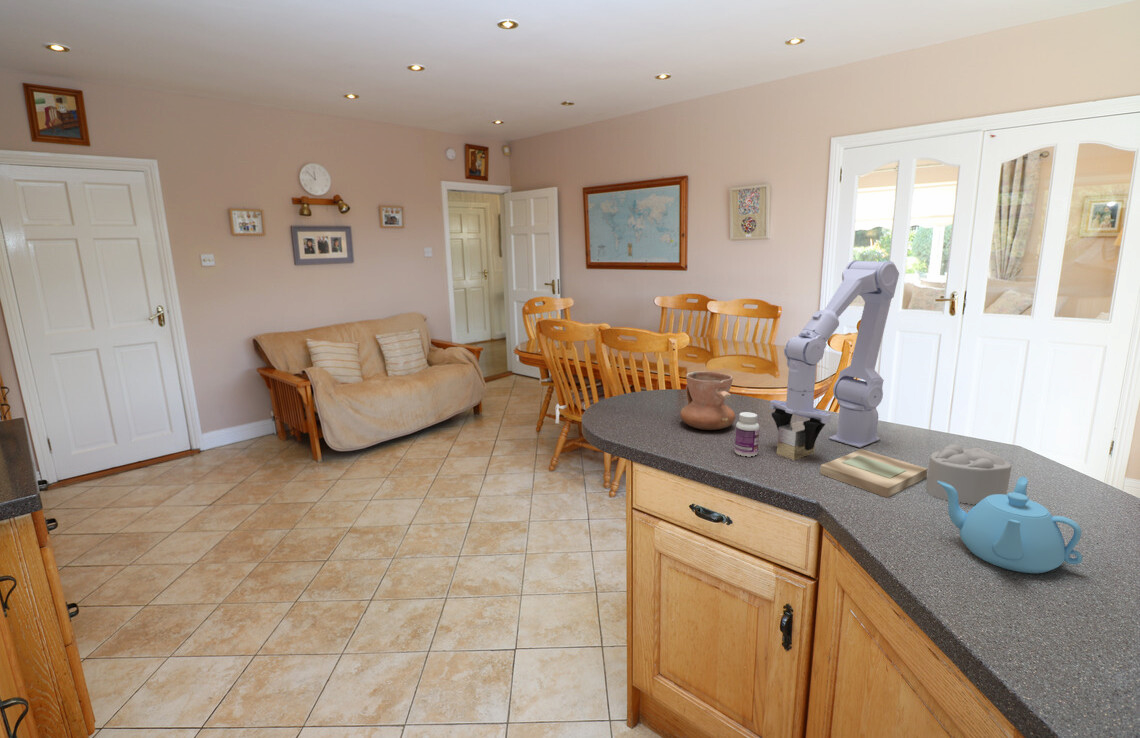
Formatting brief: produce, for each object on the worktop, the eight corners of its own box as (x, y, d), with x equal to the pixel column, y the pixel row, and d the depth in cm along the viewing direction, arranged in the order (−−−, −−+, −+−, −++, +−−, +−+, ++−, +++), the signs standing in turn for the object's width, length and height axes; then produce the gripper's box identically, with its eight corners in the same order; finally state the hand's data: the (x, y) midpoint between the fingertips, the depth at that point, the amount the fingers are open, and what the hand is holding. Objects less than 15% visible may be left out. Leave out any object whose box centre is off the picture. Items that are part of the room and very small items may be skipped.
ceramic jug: (749, 432, 144) (751, 379, 141) (701, 438, 139) (703, 384, 137) (709, 414, 161) (711, 366, 158) (666, 419, 156) (667, 370, 153)
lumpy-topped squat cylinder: (1014, 503, 103) (1022, 460, 101) (949, 506, 102) (956, 463, 100) (971, 480, 113) (977, 440, 111) (911, 483, 112) (916, 443, 111)
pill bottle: (759, 458, 127) (761, 418, 124) (735, 456, 128) (737, 417, 125) (756, 449, 132) (758, 411, 130) (733, 448, 133) (735, 410, 131)
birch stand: (860, 457, 126) (861, 448, 126) (926, 477, 115) (927, 467, 114) (820, 473, 117) (820, 464, 117) (886, 497, 106) (888, 487, 106)
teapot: (1097, 581, 79) (1112, 517, 77) (997, 585, 79) (1008, 520, 77) (1013, 530, 94) (1024, 474, 91) (928, 533, 93) (936, 477, 91)
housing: (797, 447, 133) (799, 419, 131) (814, 453, 129) (816, 424, 128) (776, 454, 129) (778, 425, 127) (793, 460, 125) (795, 431, 123)
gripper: (762, 385, 129) (759, 439, 132) (819, 398, 117) (814, 458, 120) (781, 380, 133) (777, 433, 136) (838, 393, 121) (832, 451, 124)
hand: (796, 444), depth 128 cm, fingers open, 6 cm apart
